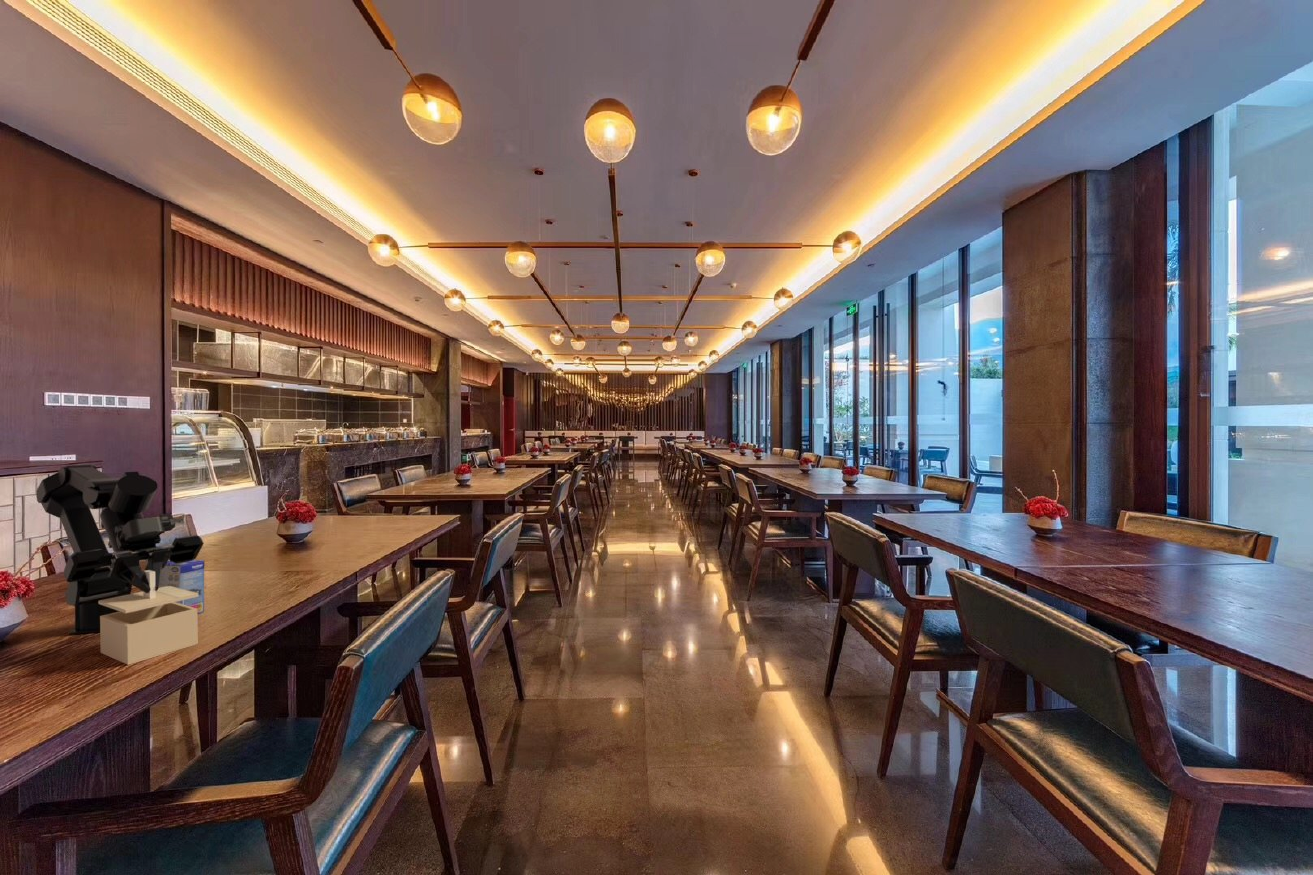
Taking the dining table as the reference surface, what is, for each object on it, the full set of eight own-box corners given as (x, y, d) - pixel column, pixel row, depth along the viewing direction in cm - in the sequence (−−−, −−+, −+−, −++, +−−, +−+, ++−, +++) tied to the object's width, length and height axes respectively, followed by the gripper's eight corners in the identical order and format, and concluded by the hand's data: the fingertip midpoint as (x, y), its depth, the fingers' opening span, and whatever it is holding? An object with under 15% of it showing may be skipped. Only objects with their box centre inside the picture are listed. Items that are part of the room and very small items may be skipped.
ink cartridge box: (206, 611, 118) (206, 549, 118) (180, 619, 113) (179, 555, 113) (173, 608, 120) (173, 548, 120) (146, 617, 115) (145, 553, 115)
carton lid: (98, 603, 96) (98, 574, 96) (170, 588, 105) (169, 561, 105) (125, 613, 90) (125, 582, 90) (198, 596, 100) (198, 568, 100)
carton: (100, 652, 96) (100, 615, 96) (169, 633, 105) (168, 600, 105) (127, 664, 91) (127, 626, 91) (197, 643, 100) (197, 608, 100)
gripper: (68, 508, 91) (94, 577, 86) (198, 497, 108) (226, 553, 103) (53, 548, 94) (77, 616, 90) (181, 530, 111) (207, 587, 106)
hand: (152, 590), depth 97 cm, fingers closed, pressing on carton lid
